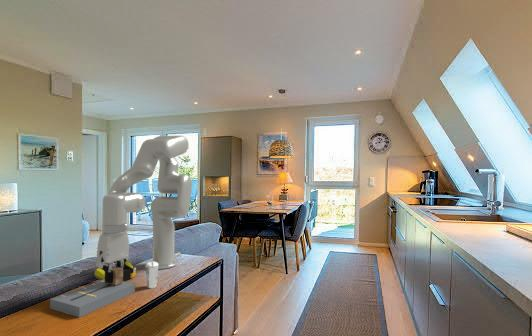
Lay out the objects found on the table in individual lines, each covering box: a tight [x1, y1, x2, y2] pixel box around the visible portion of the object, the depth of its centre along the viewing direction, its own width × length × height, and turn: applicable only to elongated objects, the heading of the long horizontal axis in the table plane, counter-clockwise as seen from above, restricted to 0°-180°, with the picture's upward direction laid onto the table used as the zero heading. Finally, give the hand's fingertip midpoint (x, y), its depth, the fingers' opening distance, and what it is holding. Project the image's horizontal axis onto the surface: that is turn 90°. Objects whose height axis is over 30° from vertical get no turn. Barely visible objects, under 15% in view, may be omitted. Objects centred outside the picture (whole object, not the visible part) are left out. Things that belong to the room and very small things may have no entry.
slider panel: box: [49, 279, 136, 319], centre depth 97 cm, size 20×14×3 cm
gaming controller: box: [93, 260, 137, 282], centre depth 117 cm, size 15×6×10 cm
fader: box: [104, 265, 123, 285], centre depth 104 cm, size 3×6×5 cm, turn 66°
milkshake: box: [145, 260, 159, 289], centre depth 108 cm, size 5×5×10 cm
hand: (113, 280), depth 104 cm, fingers closed on fader, 3 cm apart
